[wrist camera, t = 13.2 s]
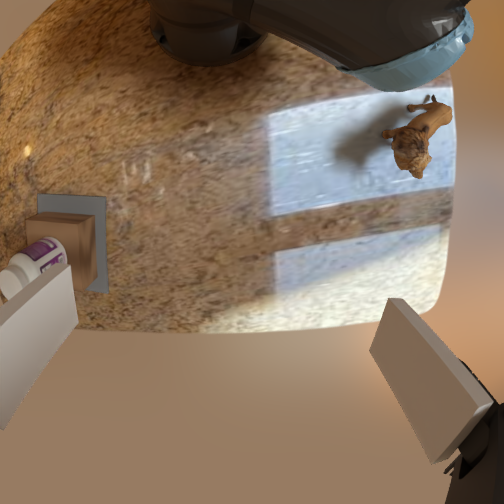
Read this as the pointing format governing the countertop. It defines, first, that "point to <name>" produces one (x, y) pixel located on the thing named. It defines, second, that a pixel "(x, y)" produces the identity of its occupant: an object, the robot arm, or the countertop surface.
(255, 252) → the countertop surface
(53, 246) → the pill bottle
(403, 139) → the lion figurine
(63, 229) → the base block
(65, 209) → the mat
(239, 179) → the countertop surface
